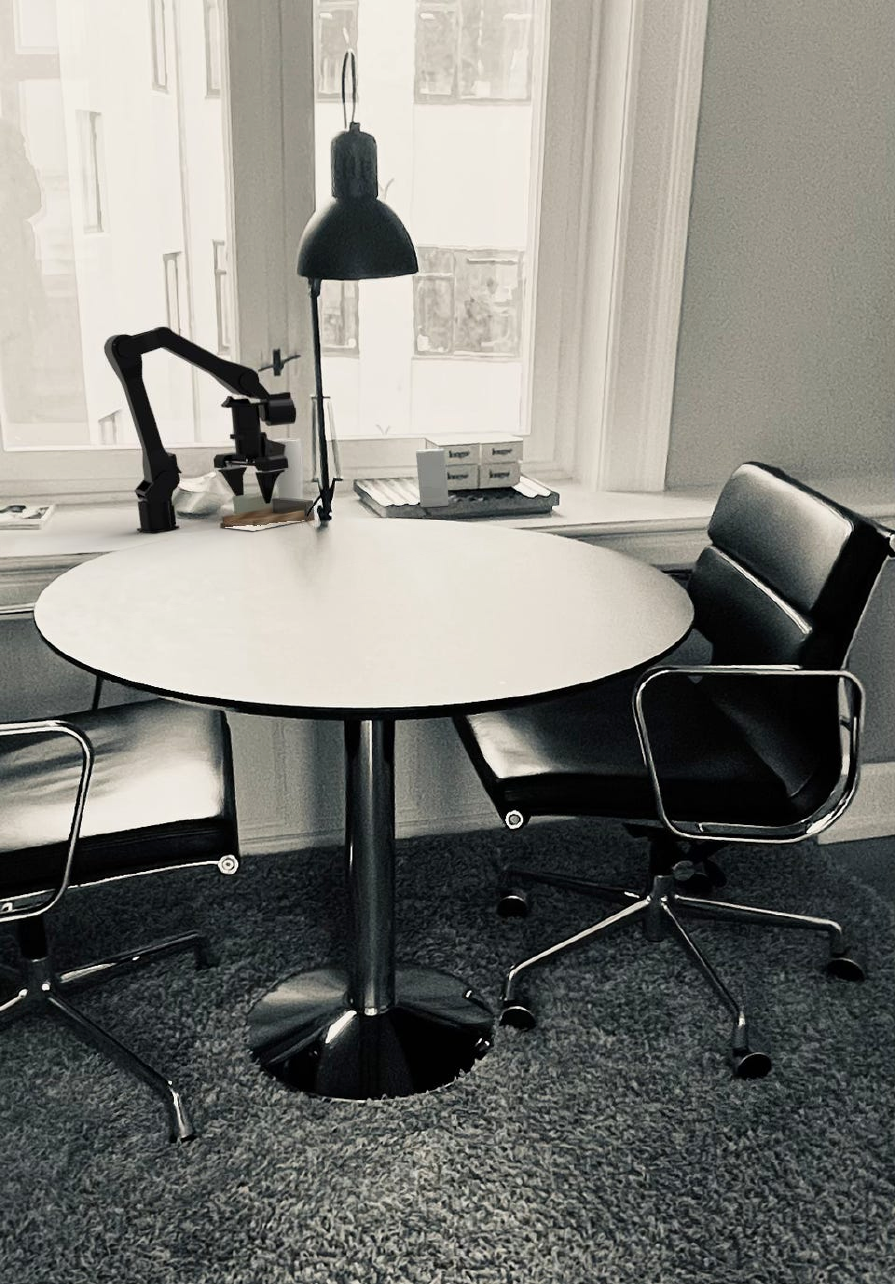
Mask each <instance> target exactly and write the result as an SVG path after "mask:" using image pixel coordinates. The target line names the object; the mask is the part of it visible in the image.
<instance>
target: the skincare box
mask: <svg viewBox="0 0 895 1284" xmlns="http://www.w3.org/2000/svg"><path fill="white" fill-rule="evenodd" d="M415 458H416V468H417V479H418V480H417V481H418V491H419V492H418V493H419V494H418V495H419V504H420V507H421V508H432V507H433V508H436V507H437V508H438V507H448V506H449V503H450V502H448V501H449V491H448V478H447V477H448V475H447V467H446V466H447V465H446V451H445V448H431V449H430V448H428V449H426V448H425V449H418V450H416V452H415Z"/></svg>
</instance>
